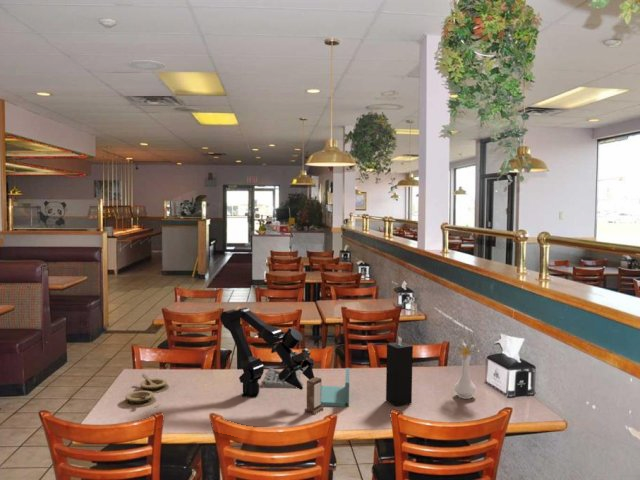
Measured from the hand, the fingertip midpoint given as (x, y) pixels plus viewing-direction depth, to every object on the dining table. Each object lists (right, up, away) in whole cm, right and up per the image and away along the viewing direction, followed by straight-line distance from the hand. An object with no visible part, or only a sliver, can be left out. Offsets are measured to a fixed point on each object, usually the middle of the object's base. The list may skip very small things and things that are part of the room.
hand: (308, 385), depth 222 cm
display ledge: (+9, -9, +15) cm, 20 cm away
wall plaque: (-12, -8, +39) cm, 41 cm away
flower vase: (+67, -9, +18) cm, 70 cm away
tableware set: (-71, -9, +16) cm, 73 cm away
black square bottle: (+38, -10, +10) cm, 40 cm away
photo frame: (+2, -10, -1) cm, 10 cm away
